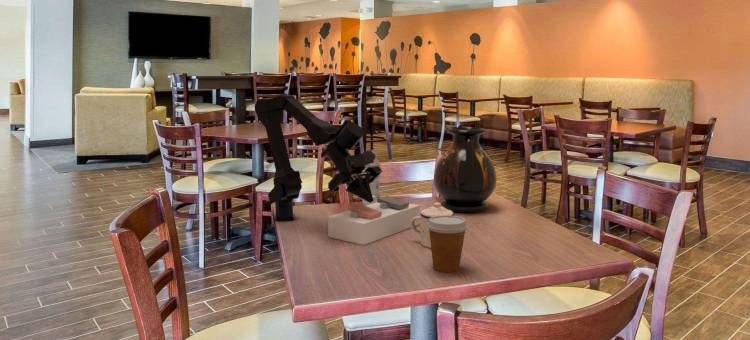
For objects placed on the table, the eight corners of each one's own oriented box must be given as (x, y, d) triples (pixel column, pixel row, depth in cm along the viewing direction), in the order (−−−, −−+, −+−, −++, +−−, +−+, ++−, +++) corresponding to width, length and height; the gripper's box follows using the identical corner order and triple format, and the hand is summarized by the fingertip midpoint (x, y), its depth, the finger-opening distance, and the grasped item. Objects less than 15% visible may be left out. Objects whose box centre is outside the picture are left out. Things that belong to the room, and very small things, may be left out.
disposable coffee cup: (423, 261, 142) (424, 215, 140) (460, 261, 143) (462, 214, 141) (430, 275, 132) (431, 225, 130) (470, 274, 133) (471, 224, 131)
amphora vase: (501, 215, 188) (504, 131, 184) (436, 215, 189) (437, 131, 184) (489, 201, 209) (491, 125, 205) (430, 201, 210) (432, 125, 205)
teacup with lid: (457, 242, 159) (458, 201, 157) (447, 251, 151) (448, 208, 149) (416, 236, 164) (417, 197, 162) (405, 245, 156) (405, 203, 154)
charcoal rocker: (376, 202, 175) (377, 198, 174) (386, 199, 178) (387, 195, 178) (399, 209, 170) (399, 205, 169) (408, 206, 174) (409, 202, 173)
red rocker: (347, 210, 164) (348, 206, 163) (358, 207, 167) (358, 203, 167) (370, 219, 159) (371, 215, 158) (381, 216, 163) (381, 212, 162)
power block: (328, 236, 163) (328, 211, 162) (386, 217, 185) (386, 194, 184) (363, 245, 156) (363, 218, 154) (419, 224, 177) (419, 200, 176)
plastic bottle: (379, 209, 196) (379, 152, 193) (360, 208, 197) (360, 151, 194) (382, 205, 202) (383, 150, 199) (364, 204, 204) (364, 149, 200)
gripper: (335, 144, 154) (367, 189, 149) (377, 138, 169) (407, 179, 164) (314, 170, 160) (344, 214, 155) (356, 162, 175) (385, 202, 170)
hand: (371, 201), depth 161 cm, fingers closed
